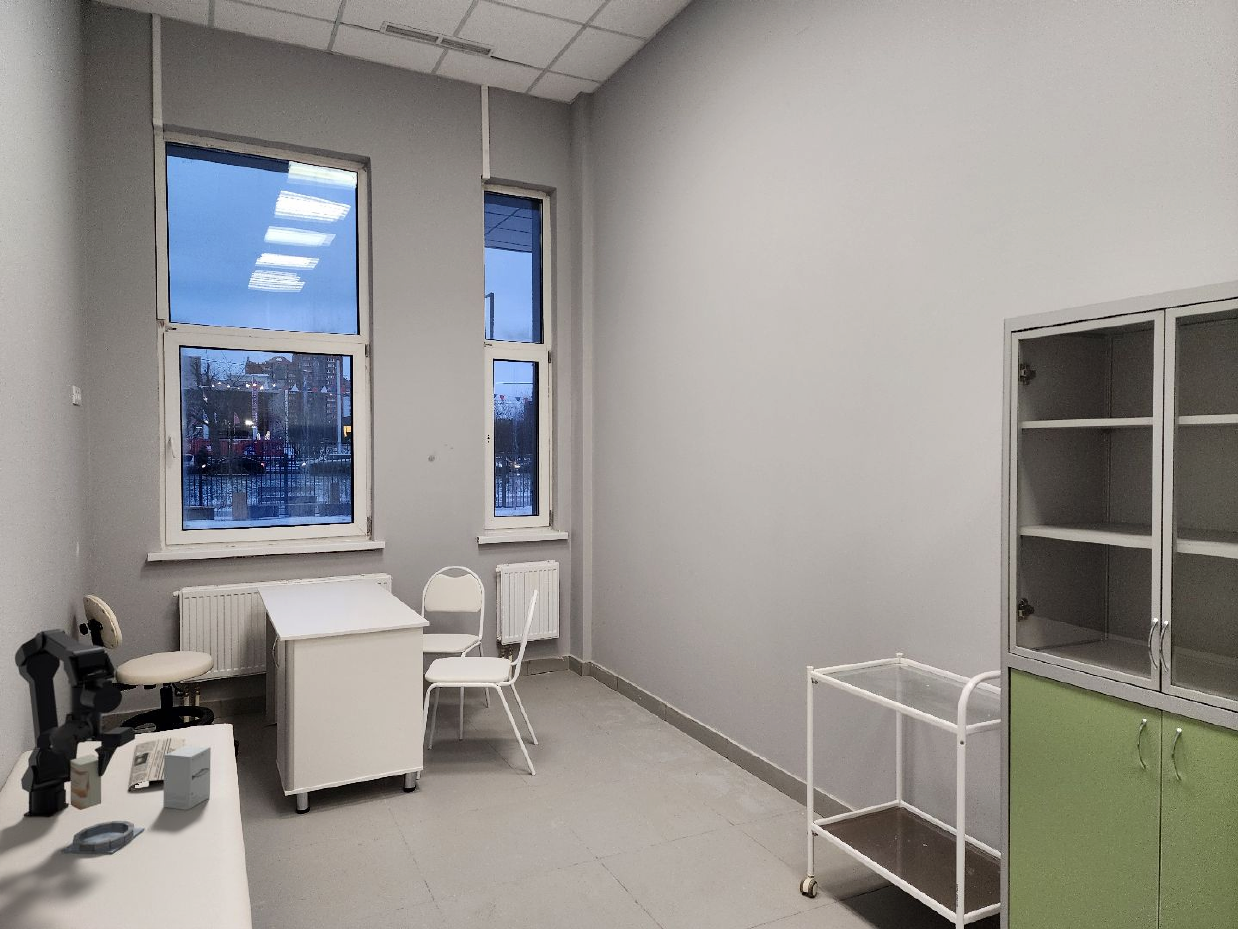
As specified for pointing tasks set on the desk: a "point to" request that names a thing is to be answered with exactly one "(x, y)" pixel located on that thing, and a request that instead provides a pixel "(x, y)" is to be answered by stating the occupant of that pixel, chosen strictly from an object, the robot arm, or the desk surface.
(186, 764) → the supplement box
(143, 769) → the newspaper
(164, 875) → the desk surface
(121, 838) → the collar
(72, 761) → the skincare box
